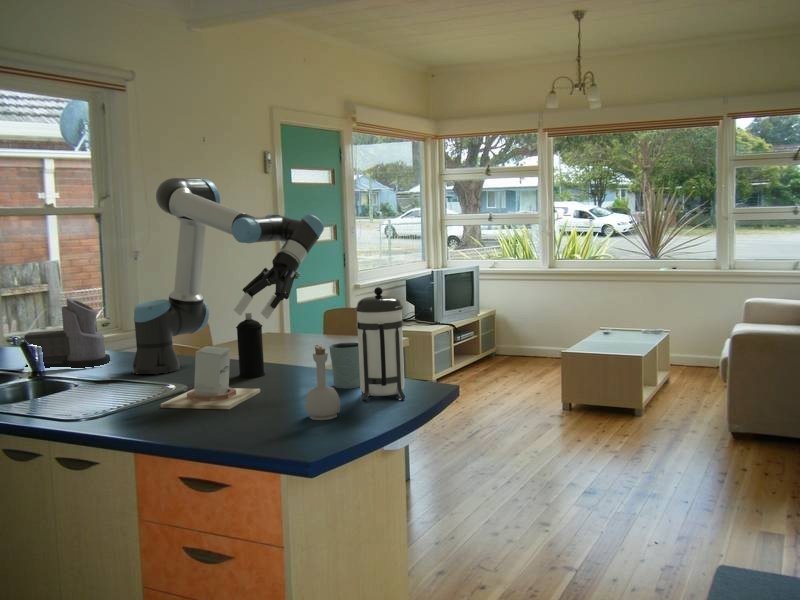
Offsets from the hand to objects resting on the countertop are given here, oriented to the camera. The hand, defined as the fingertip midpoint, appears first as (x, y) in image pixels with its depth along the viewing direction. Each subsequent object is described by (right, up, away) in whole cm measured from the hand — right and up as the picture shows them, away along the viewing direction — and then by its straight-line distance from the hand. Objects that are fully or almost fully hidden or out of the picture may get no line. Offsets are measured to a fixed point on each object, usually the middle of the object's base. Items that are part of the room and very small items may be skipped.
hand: (250, 314), depth 232 cm
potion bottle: (+24, -25, -33) cm, 48 cm away
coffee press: (+39, -23, -16) cm, 48 cm away
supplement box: (-9, -22, -10) cm, 26 cm away
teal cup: (+28, -21, +2) cm, 35 cm away
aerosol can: (-4, -20, +23) cm, 31 cm away
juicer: (-74, -20, +52) cm, 92 cm away
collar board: (-9, -24, -10) cm, 27 cm away
